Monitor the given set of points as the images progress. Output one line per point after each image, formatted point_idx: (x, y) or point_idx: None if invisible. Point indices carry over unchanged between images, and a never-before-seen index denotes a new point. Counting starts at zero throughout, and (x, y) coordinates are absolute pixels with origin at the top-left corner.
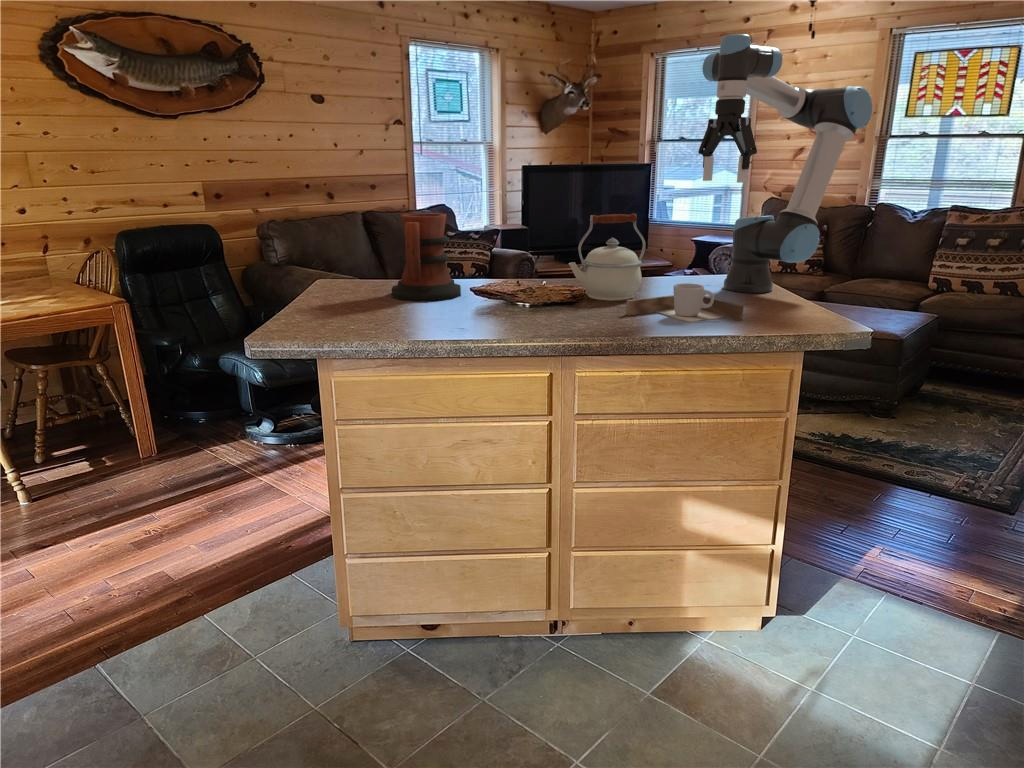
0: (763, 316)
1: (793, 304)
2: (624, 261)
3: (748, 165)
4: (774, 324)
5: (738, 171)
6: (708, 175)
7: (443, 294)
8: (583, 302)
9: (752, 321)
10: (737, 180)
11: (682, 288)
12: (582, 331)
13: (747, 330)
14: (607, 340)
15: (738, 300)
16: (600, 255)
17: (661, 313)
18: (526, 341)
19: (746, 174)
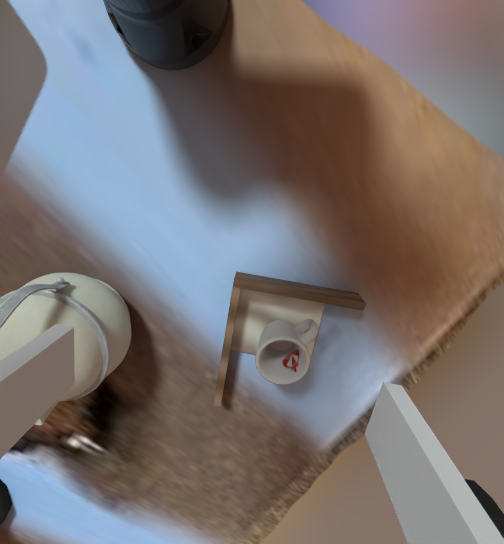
0: (365, 239)
1: (347, 86)
2: (97, 367)
3: (501, 525)
4: (410, 276)
5: (400, 502)
6: (50, 378)
7: (2, 503)
8: (111, 377)
9: (372, 285)
10: (373, 444)
11: (289, 383)
12: (256, 482)
13: (399, 339)
14: (307, 489)
15: (248, 150)
16: (56, 401)
17: (246, 352)
18: (254, 540)
19: (425, 430)
